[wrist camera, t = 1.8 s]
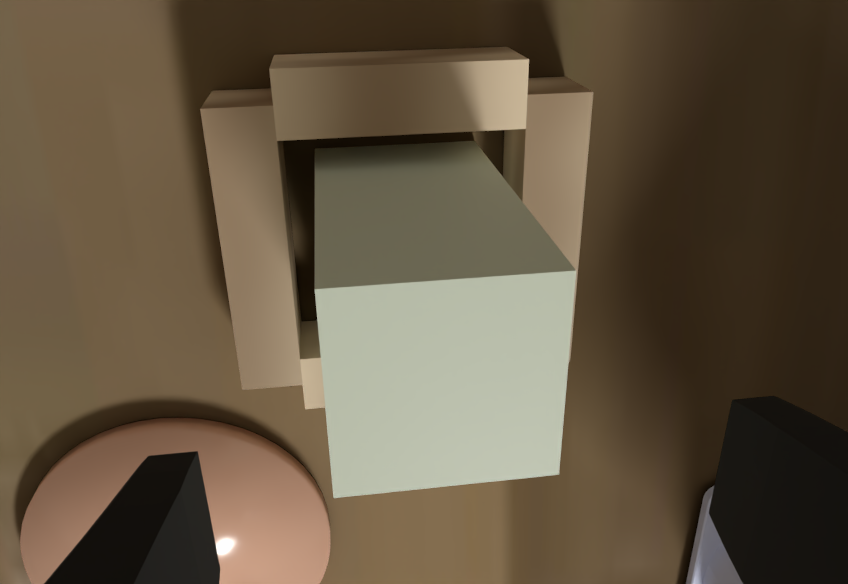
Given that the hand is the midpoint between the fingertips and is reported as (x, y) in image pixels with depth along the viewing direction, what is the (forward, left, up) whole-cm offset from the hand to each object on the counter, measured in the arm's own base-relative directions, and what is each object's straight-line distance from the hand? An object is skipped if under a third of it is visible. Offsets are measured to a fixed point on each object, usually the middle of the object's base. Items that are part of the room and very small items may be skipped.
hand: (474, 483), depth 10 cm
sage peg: (0, 0, -10) cm, 10 cm away
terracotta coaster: (+7, +10, -10) cm, 16 cm away
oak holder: (0, 0, -10) cm, 10 cm away
